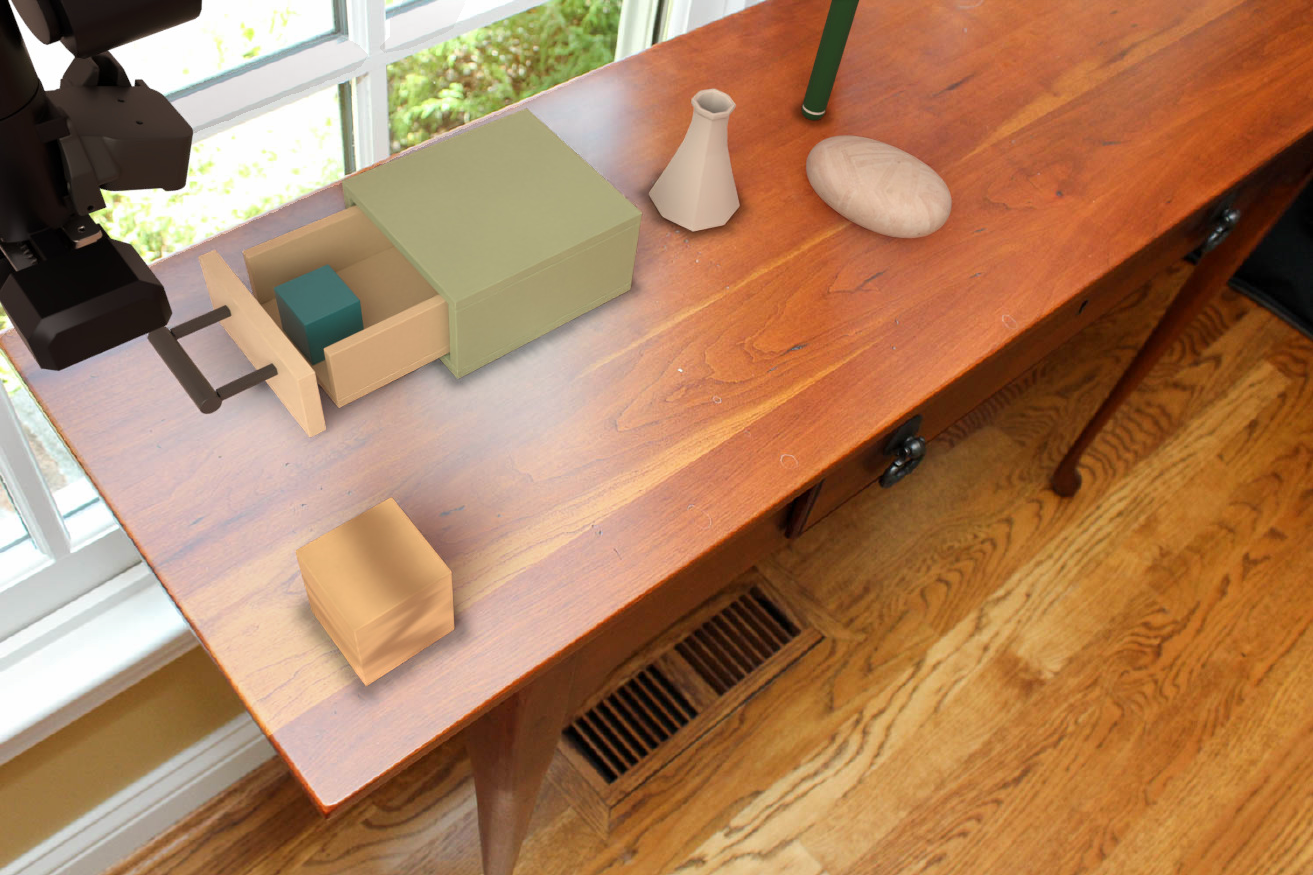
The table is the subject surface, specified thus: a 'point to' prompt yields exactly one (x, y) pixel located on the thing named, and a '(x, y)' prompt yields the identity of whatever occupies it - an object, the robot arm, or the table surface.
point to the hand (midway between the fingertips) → (74, 329)
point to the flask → (700, 169)
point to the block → (318, 311)
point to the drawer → (391, 345)
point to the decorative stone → (878, 186)
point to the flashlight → (828, 57)
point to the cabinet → (503, 232)
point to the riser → (378, 589)
